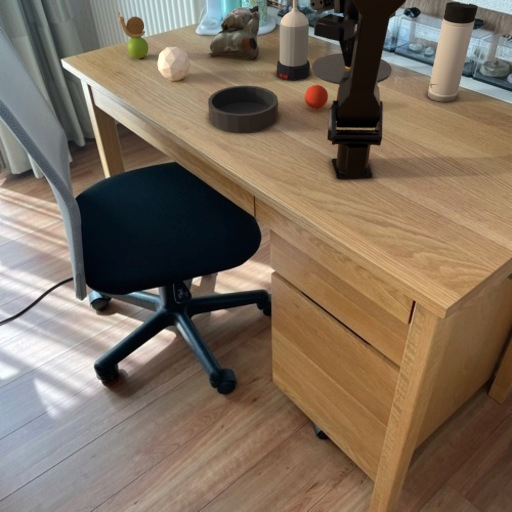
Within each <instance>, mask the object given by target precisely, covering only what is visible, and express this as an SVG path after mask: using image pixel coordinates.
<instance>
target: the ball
mask: <svg viewBox="0 0 512 512" xmlns="http://www.w3.org/2000/svg"><path fill="white" fill-rule="evenodd" d="M328 99H329V93H328V91H327V89H326V88H325V87H324V86H322V85H319V84H313V85H311V86H309V87H308V89H307V90H306V91H305V93H304V101H305V103H306V105H307V106H308V107H309V108H310V109H314V110H319V109H322V108H324V106H325V105H326V104H327V102H328Z"/></svg>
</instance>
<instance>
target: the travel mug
mask: <svg viewBox="0 0 512 512" xmlns="http://www.w3.org/2000/svg"><path fill="white" fill-rule="evenodd" d="M478 7H479V6H478V4H473V3H468V4H467V3H461V2H459V1H451V2H446V3H445V8H444V14H443V17H442V21H441V26H440V31H439V36H438V40H437V46H436V52H435V55H434V62H433V66H432V71H431V76H430V80H429V86H428V90H427V96H428V98H430V99H431V100H432V101H435V102H439V103H440V102H441V103H448V102H449V103H450V102H453V101H454V100H456V99H457V97H458V93H459V88H460V84H461V80H462V75H463V71H464V68H465V63H466V59H467V55H468V50H469V48H470V47H469V46H470V43H471V39H472V34H473V29H474V25H475V22H476V16H477V12H478Z"/></svg>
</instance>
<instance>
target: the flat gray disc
mask: <svg viewBox="0 0 512 512" xmlns="http://www.w3.org/2000/svg"><path fill="white" fill-rule="evenodd" d="M350 70H351V67H346V66H345V63H344V59H343V55H342V52H339V53H338V52H337V53H332V54H327V55H323V56H321V57H318V58H317V59H316V60H314V61H313V63H311V72H312V74H313V75H314V76H315V77H316V78H318V79H320V80H321V81H324V82H326V83H330V84H334V85H339V84H340V80H341V79H342V78H349V76H350ZM392 72H393V69H392V66H391V64H390V63H389V62H388V61H386V60H385V59H382V58H381V62H380V66H379V71H378V76H377V81H378V84H379V83H382V82H384V81H386V80H387V79H389V78H390V77H391V76H392Z"/></svg>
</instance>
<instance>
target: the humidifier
mask: <svg viewBox="0 0 512 512" xmlns="http://www.w3.org/2000/svg"><path fill="white" fill-rule="evenodd" d="M309 23H310V22H309V19H308V17H307V16H306V15H305V14H304V13H303V12H301V11H299V9H298V0H292V9H291V11H289V12H287V13H286V14H285V15H283V17H282V18H281V20H280V24H279V59H278V60H277V62H276V76H277V77H278V78H279V79H281V80H283V81H289V82H296V81H297V82H298V81H303V80H306V79H308V78H309V77H310V73H311V64H310V63H311V62H310V61H309V60H308V59H309V58H308V55H309V54H308V53H309V35H310V34H309V33H310V25H309Z"/></svg>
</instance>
